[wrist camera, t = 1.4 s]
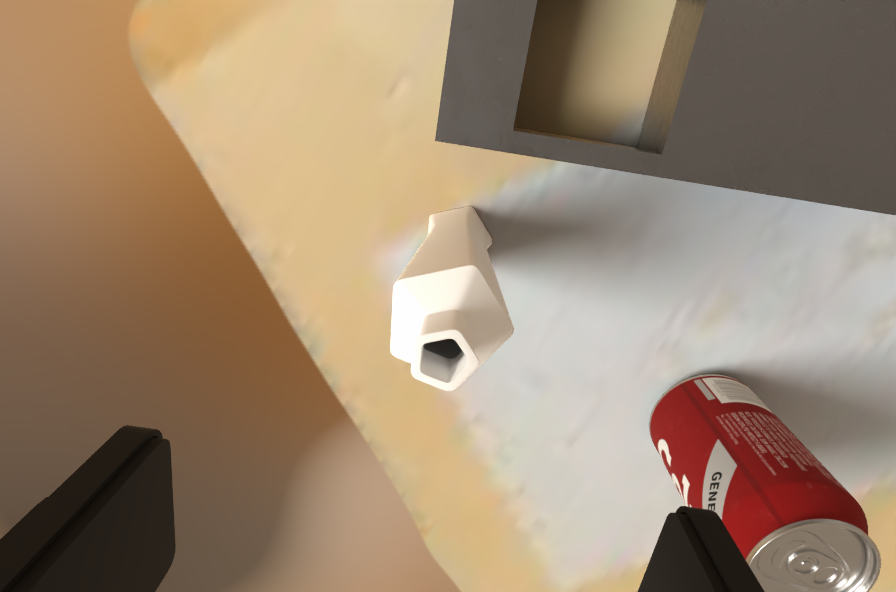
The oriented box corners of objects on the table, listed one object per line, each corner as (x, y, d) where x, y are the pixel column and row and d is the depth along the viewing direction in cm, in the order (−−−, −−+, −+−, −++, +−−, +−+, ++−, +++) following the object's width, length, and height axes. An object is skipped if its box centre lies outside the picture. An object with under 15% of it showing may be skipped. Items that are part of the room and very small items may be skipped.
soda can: (693, 349, 32) (811, 485, 21) (777, 401, 33) (934, 557, 22) (624, 428, 34) (697, 589, 23) (705, 473, 35) (813, 650, 24)
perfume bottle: (493, 279, 31) (510, 430, 17) (420, 272, 31) (376, 416, 17) (503, 202, 29) (530, 299, 15) (425, 195, 29) (381, 284, 15)
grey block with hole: (917, 15, 25) (995, 0, 21) (839, 199, 28) (895, 215, 25) (467, -60, 25) (466, -87, 21) (440, 135, 28) (435, 140, 24)
